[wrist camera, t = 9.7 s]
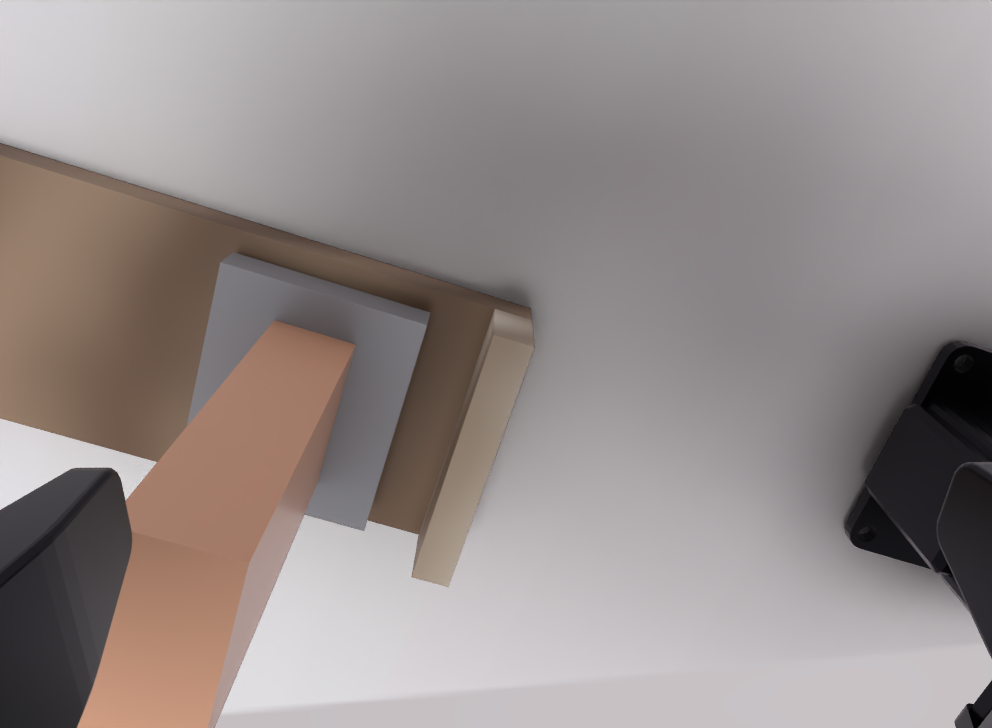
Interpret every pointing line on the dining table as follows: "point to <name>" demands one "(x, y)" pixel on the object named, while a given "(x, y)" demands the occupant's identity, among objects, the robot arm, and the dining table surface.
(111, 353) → the fader track
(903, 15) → the dining table surface
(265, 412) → the fader
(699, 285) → the dining table surface
